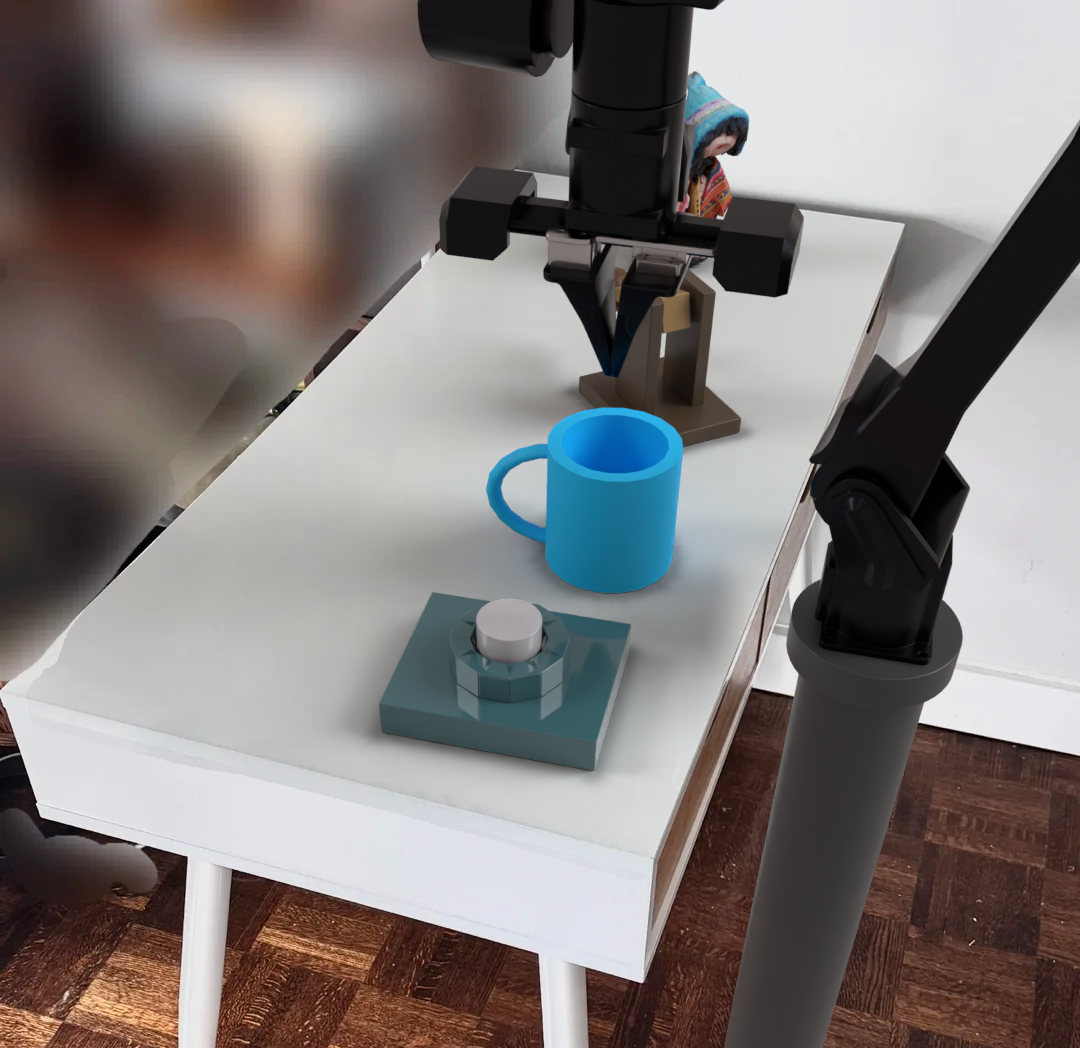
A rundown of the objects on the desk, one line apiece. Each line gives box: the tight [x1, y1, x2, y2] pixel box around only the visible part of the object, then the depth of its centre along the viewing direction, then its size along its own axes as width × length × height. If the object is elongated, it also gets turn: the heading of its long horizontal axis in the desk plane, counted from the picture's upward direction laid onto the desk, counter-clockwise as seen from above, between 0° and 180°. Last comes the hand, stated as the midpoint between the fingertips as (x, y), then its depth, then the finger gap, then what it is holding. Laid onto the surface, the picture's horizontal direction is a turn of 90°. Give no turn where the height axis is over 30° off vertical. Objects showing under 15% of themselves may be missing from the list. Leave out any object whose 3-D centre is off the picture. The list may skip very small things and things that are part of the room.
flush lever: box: [615, 266, 691, 335], centre depth 95 cm, size 11×3×3 cm, turn 25°
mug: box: [485, 408, 684, 594], centre depth 83 cm, size 12×8×8 cm
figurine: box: [677, 70, 750, 266], centre depth 110 cm, size 10×7×15 cm
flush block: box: [378, 591, 632, 772], centre depth 74 cm, size 12×10×4 cm
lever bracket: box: [578, 268, 742, 448], centre depth 94 cm, size 10×8×10 cm
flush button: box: [476, 597, 542, 664], centre depth 73 cm, size 4×4×2 cm
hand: (613, 373), depth 77 cm, fingers closed
